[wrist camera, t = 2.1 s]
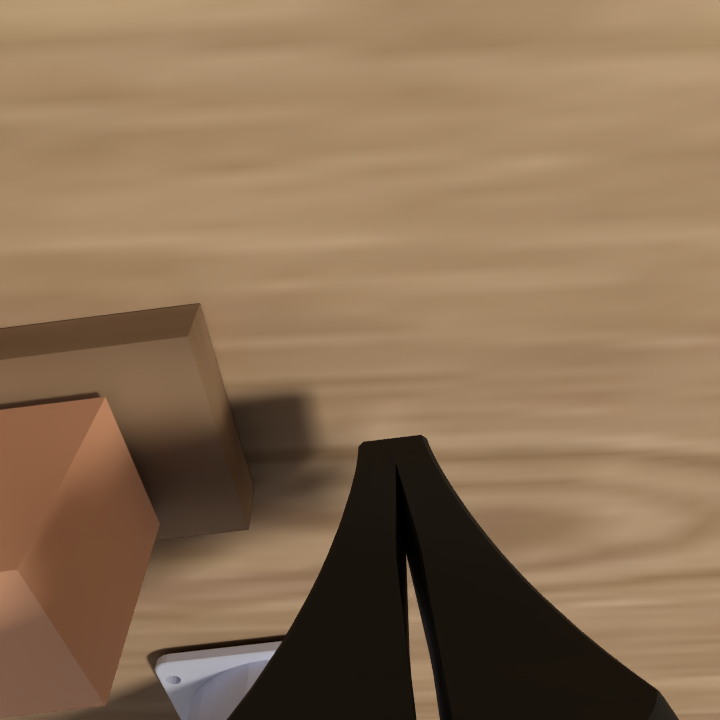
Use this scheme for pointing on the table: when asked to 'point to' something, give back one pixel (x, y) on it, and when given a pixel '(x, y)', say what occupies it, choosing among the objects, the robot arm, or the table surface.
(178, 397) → the track
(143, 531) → the slider
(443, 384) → the table surface
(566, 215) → the table surface
